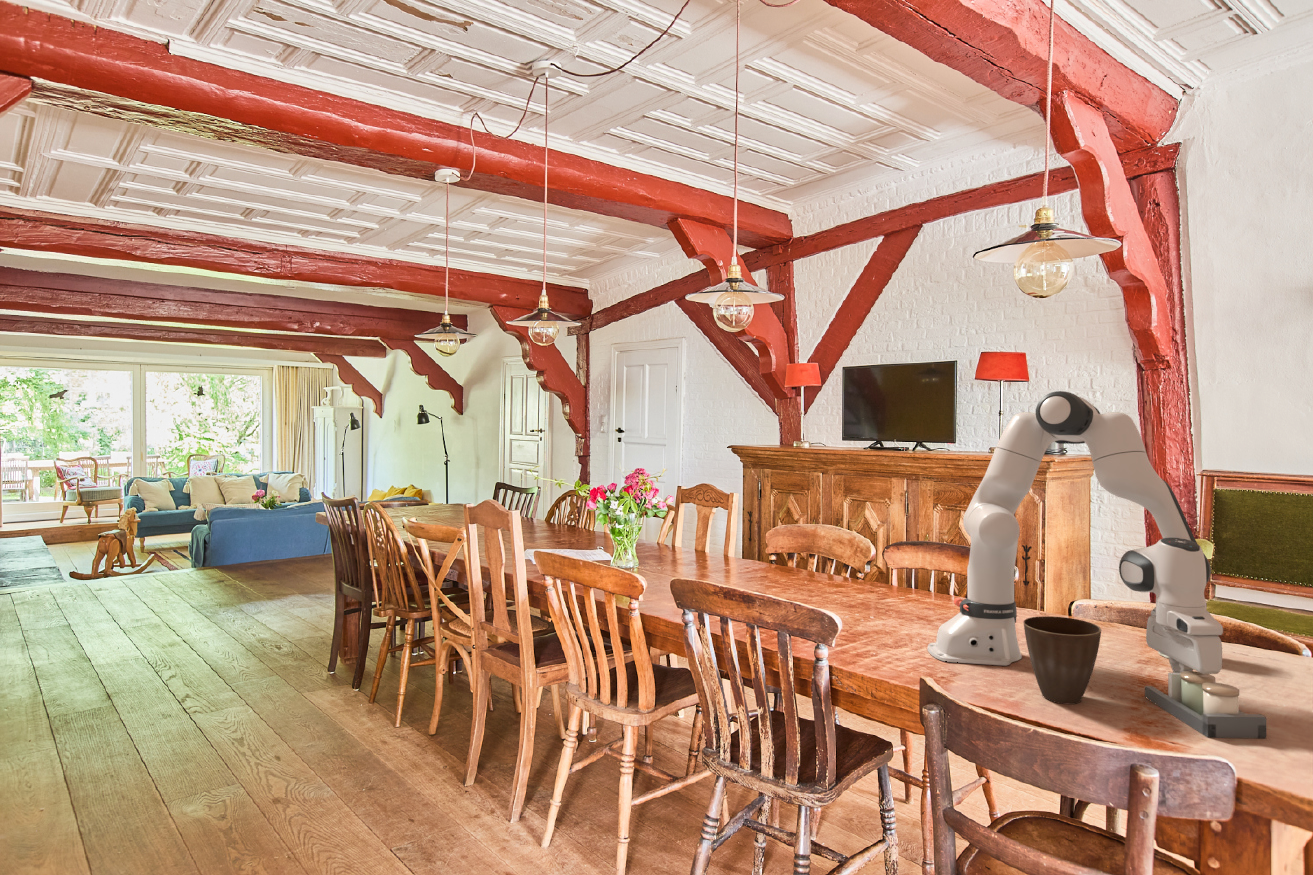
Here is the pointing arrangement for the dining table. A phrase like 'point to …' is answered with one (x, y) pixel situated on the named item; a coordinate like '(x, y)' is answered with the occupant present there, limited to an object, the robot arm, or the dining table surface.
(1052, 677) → the plant pot
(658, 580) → the dining table surface
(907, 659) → the dining table surface
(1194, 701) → the sage jar
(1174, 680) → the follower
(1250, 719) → the tray
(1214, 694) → the cream jar
